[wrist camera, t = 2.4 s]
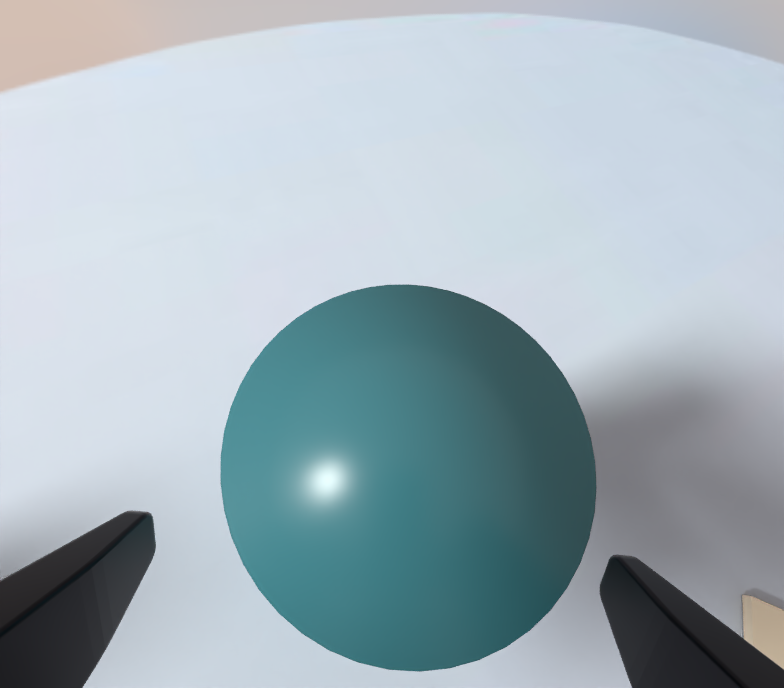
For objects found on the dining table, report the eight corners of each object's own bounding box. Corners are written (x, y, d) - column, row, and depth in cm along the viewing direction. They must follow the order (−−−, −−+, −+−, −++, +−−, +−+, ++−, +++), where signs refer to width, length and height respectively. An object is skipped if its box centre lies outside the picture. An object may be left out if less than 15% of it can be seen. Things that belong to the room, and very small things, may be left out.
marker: (402, 590, 15) (559, 770, 3) (305, 543, 15) (131, 547, 4) (438, 484, 17) (617, 353, 5) (350, 445, 17) (330, 245, 6)
